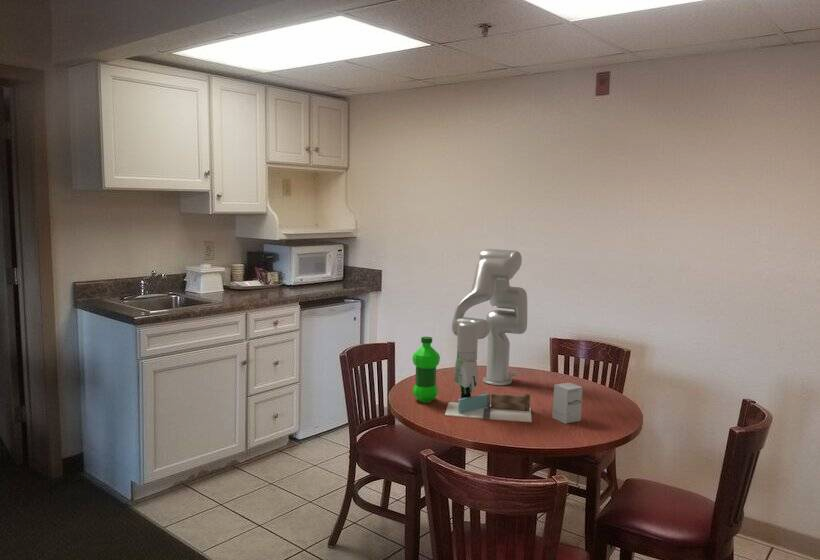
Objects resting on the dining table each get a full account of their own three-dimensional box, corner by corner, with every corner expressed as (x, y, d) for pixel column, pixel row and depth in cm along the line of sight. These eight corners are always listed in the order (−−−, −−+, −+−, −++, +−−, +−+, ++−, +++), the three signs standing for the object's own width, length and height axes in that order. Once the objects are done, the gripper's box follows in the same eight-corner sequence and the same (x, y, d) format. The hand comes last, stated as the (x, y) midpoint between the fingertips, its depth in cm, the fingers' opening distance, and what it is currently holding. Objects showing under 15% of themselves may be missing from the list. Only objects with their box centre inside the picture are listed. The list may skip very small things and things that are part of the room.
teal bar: (487, 405, 233) (488, 393, 233) (490, 406, 232) (491, 394, 231) (457, 411, 225) (457, 398, 225) (459, 412, 224) (460, 400, 223)
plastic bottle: (406, 399, 241) (408, 336, 238) (427, 394, 247) (429, 333, 244) (422, 406, 233) (424, 341, 230) (443, 401, 239) (445, 338, 237)
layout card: (530, 408, 232) (530, 407, 232) (531, 423, 217) (531, 421, 217) (449, 403, 237) (449, 401, 237) (444, 416, 222) (444, 415, 222)
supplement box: (565, 424, 216) (567, 389, 215) (551, 417, 223) (553, 384, 222) (581, 421, 220) (583, 387, 218) (567, 415, 226) (569, 381, 225)
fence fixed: (529, 409, 230) (530, 394, 230) (529, 411, 228) (530, 395, 228) (490, 406, 233) (491, 391, 232) (490, 408, 231) (491, 392, 230)
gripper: (448, 351, 233) (447, 398, 235) (468, 360, 219) (466, 410, 221) (466, 349, 236) (464, 396, 238) (486, 359, 222) (484, 408, 224)
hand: (465, 402), depth 230 cm, fingers closed
